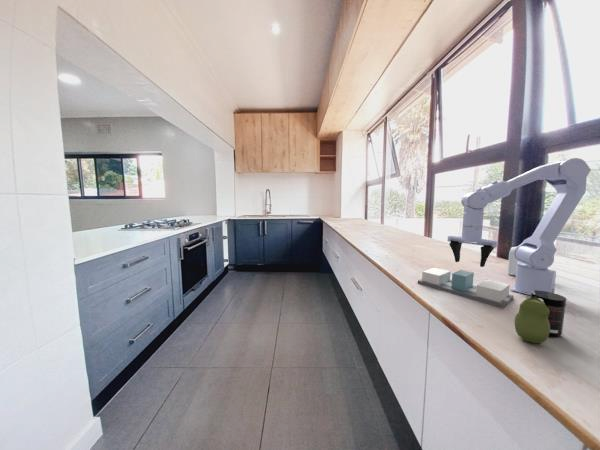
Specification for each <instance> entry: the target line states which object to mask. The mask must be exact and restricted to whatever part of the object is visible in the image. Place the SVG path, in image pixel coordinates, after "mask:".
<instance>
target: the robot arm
mask: <svg viewBox="0 0 600 450" xmlns="http://www.w3.org/2000/svg"><path fill="white" fill-rule="evenodd" d="M590 173H591V168H590V166H589V165H588V163H587V162H586V161H585V160H584V159H582V158H578V157H572V158H569V159H566V160H565V159H564V160H561V161H554V162H548V163H546V164H543V165H539V166H537V167H534V168H532V169H531V170H528V171H526V172H524V173H522V174H520V175H517V176H515V177H513V178H511V179H509V180H505V181H504V180H502V179H501V180H496V179H495V180H493V181H490V184H489V185H486V186H483V187H477V188H475V191H474V192H473V191H472V192H467V193H466V194H465V195H464V196H463V197H462V199H461V200H460V201H461V205H462V206H463V214H462V215H463V216H462V228H461V231H462V232H461V236H456V235H455V236H454V235H448V236H447V242H449V247H450V248H451V251H452V254H453V257H454V262H456V263H459V262H460V259H461V249H462V245H463V244H467V245H469V244H470V245H476V246H481V247H480V260H479V261H480V262H479V266H480V268H484V267H485V266H486V262H487V260H488V258H489V256H490V255H491V253H492V251H493V250H494V249H496V248H498V245H499V240H490V239H486V238H485V239H484V238H483V226H484V215H485V214H484V211H485V207H487V206H488V204H492V203H494V202H496V201H498V200H501V199H504V198H505V197H508V196H510V195H511V192H512V191H513V190H515V189H518V188H521V187H523V186H526V185H528V184H530V183H533V182H535V181H538V180H540V181H541V180H542V181H543V180H544V181H545V182H547V183H548V185H550V186H552V187H553V188H554V189H555V191H556V193H557V194H556V195H555V197H554V198H553V200H552V202H551V203H550V205H549V207H548V208H547V210H546V212H545V214H544V215H543V216H542V218H541V220H540V221H539V223H538V224H537V226H536V228H535V230H534V232H533V233H532V235H531V236H529V237H527V238H525V239H523V241H522V242H521V243H520V244H519V245H517V246H515V247H516V248H515V250H514V257H515V258H516V259H517V269H516V276H515V279H514V280H515V281H514V285H513V286H512V287H511V288H509V291H512V292H517V293H520V294H524V295H525V294H526V295H527V296H529V295H530V296H531V291H535V290H537V291H546V292H551V293H555V290H556V288H555V284H556V277H557V276H556V275H557V271H556V270H554V269H548V268H550V267H551V266H552V265H553V264H554V262H555V254H556V252H557V251H558V250H557V248H556V246H555V244H554V243H555V241H556V240H557V238H558V236H559V235H560V233H561V232H562V230H563V228H564V227H565V225H566V224H567V223H568V220H569V219H570V217H571V215H572V214H573V213H574V211H575V209H576V208H577V206H578V205H579V204H580V201H581V200H582V198H583V196H584V195H585V193H586V191H587V179H588V175H589V174H590Z"/></svg>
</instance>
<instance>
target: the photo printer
mask: <svg viewBox="0 0 600 450" xmlns="http://www.w3.org/2000/svg"><path fill="white" fill-rule="evenodd" d="M516 247H517V246H512V247H511V248H510V250H509V253H508V264H507V275H508V276H514V277H516V269H517V259H516V258H515V257H514V250H515V248H516Z"/></svg>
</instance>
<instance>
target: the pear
mask: <svg viewBox="0 0 600 450" xmlns="http://www.w3.org/2000/svg"><path fill="white" fill-rule="evenodd" d="M534 297H535V298H534ZM534 297H532V298H531V297H530V296H529V295H527V296H526V297H525V299H524V300H523V301H522V302H521V303H520V304H519V309H518V311H517V313H516V315H515V317H514V329H515V332H516V333H517V335H518V337H520V338H521V340H524V341H526V342H529V343H531V344H542V343H544V342H546V341H547V340H548V338H549V334H550V323H549V321H548V315H549V312H550V311H549V309H548V308H547V307H546V305H545V303H544V300H542V299H541V298H537V297H536V296H534Z"/></svg>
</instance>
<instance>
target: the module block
mask: <svg viewBox="0 0 600 450" xmlns="http://www.w3.org/2000/svg"><path fill="white" fill-rule="evenodd" d="M474 274H475V273H474V272H472V271H467V270H463V269H459V270H457V271H455V272H453V273H452V274H451V280H452V285H451V288H455V289H459V290H462V291H466V290H467V289H469V288H471V287H473V285H474V276H475V275H474Z"/></svg>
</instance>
